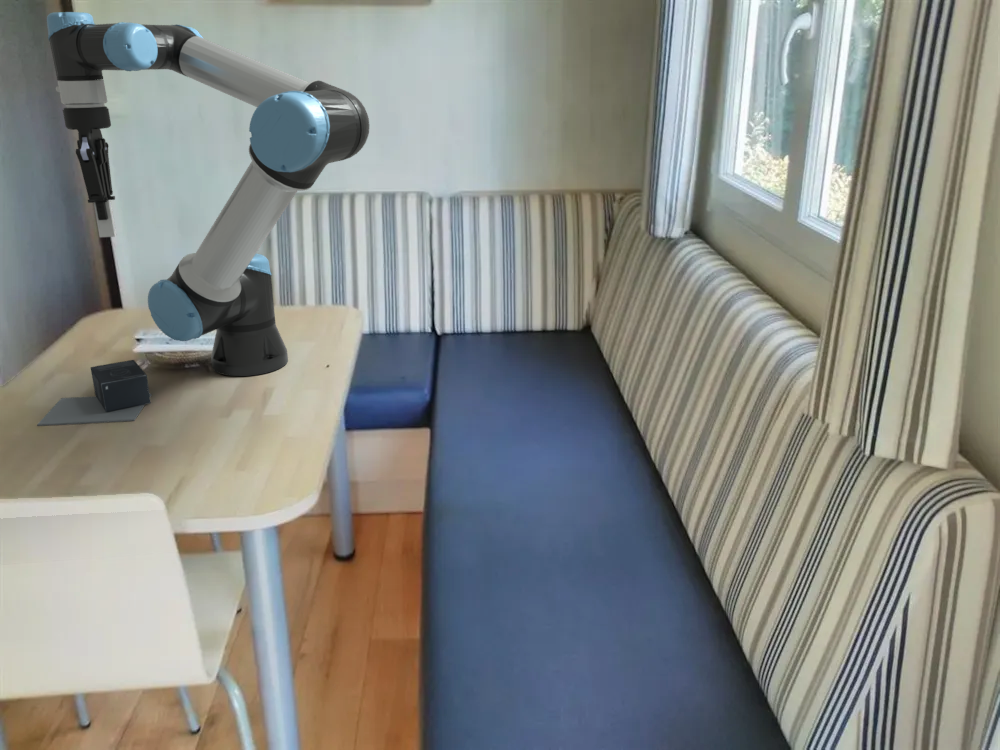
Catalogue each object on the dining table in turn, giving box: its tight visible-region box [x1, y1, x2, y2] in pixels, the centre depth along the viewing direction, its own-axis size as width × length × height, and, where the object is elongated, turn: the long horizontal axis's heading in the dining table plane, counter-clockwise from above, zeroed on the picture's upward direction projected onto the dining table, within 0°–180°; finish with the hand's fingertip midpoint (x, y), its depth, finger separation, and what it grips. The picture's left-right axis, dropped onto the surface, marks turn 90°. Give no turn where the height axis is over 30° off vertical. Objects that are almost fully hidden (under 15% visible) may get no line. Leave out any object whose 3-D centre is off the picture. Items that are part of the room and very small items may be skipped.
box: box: [90, 359, 151, 412], centre depth 155 cm, size 8×6×11 cm
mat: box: [37, 393, 152, 427], centre depth 153 cm, size 16×12×1 cm
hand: (108, 236), depth 160 cm, fingers closed
